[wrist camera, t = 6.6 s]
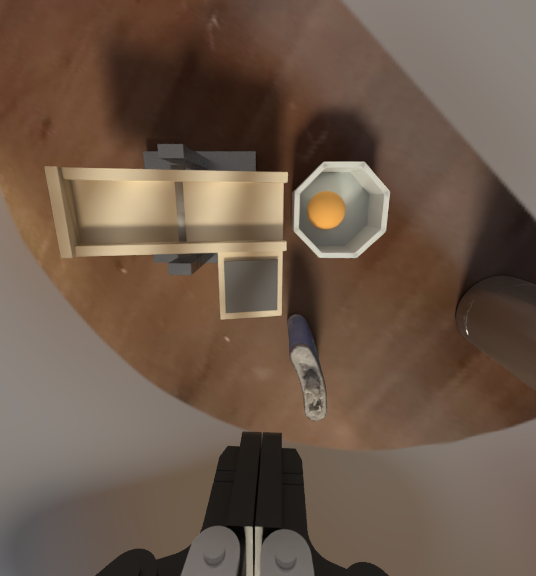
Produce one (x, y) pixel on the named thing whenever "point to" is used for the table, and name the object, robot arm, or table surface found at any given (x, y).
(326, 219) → the ball
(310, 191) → the cup
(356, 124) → the table surface
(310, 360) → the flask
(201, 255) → the lever stand
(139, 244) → the lever
